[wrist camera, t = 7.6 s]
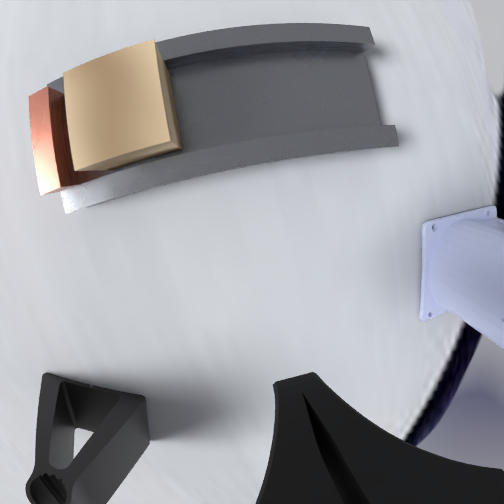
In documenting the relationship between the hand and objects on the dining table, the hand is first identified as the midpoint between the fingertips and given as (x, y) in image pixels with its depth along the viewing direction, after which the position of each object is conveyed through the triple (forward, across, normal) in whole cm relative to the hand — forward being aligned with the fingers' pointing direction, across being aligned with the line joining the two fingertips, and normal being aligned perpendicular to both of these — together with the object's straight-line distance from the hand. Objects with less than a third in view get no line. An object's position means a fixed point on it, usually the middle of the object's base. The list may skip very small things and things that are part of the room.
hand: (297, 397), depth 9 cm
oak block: (+8, +4, -11) cm, 14 cm away
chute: (+9, 0, -11) cm, 14 cm away
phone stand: (+10, +15, +8) cm, 20 cm away
